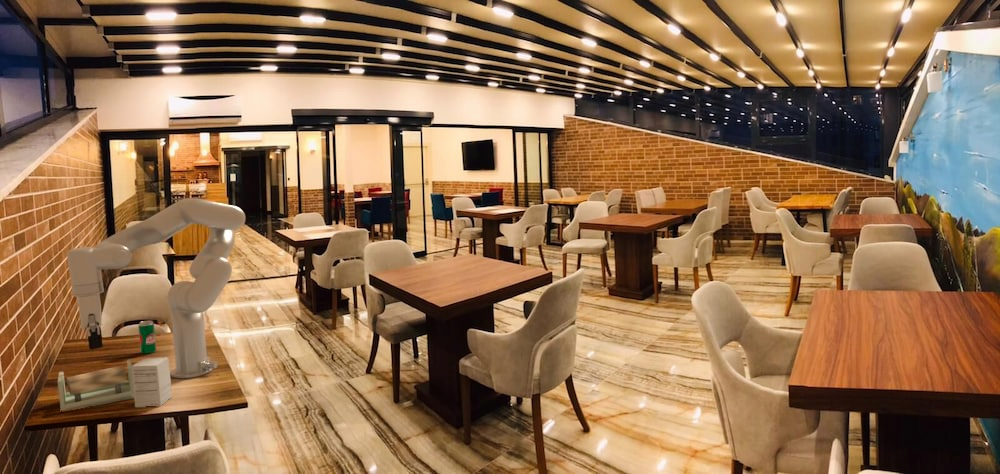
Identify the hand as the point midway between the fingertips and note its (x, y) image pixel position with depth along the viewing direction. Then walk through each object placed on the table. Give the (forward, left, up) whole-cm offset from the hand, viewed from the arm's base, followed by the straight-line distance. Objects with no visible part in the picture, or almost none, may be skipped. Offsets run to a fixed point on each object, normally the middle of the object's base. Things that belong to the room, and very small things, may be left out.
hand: (96, 344), depth 169 cm
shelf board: (0, 0, -13) cm, 13 cm away
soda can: (+16, -43, -17) cm, 49 cm away
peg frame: (0, +1, -17) cm, 17 cm away
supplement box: (-19, +3, -17) cm, 25 cm away
